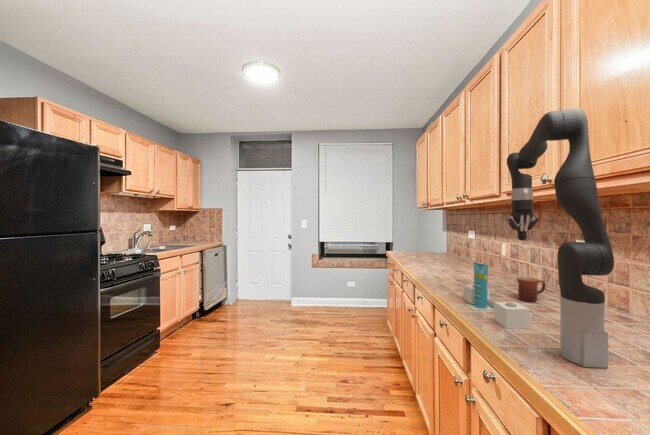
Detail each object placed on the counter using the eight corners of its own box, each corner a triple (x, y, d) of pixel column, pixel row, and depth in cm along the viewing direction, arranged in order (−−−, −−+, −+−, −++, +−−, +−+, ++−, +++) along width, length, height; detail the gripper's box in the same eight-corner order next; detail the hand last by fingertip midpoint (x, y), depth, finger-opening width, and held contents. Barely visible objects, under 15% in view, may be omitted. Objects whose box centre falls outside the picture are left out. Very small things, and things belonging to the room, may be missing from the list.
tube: (469, 305, 125) (469, 262, 125) (477, 303, 127) (476, 261, 127) (485, 310, 118) (485, 265, 118) (492, 308, 120) (492, 264, 120)
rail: (518, 320, 108) (518, 313, 108) (512, 320, 108) (512, 313, 108) (492, 304, 127) (492, 299, 127) (487, 304, 127) (487, 299, 127)
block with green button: (529, 328, 100) (529, 307, 100) (506, 328, 101) (506, 307, 101) (515, 320, 108) (515, 300, 108) (494, 319, 109) (494, 300, 109)
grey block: (489, 304, 127) (489, 289, 127) (471, 304, 127) (471, 289, 127) (480, 299, 135) (480, 284, 135) (463, 299, 135) (463, 284, 135)
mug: (523, 303, 128) (523, 280, 128) (512, 297, 137) (512, 276, 137) (551, 303, 127) (551, 281, 127) (538, 298, 136) (538, 277, 136)
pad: (494, 310, 119) (494, 309, 119) (472, 310, 120) (472, 309, 120) (486, 305, 125) (486, 304, 125) (466, 305, 126) (466, 304, 126)
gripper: (511, 198, 115) (511, 241, 115) (544, 198, 115) (544, 241, 115) (500, 200, 122) (500, 239, 122) (531, 199, 122) (531, 239, 122)
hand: (522, 240), depth 118 cm, fingers closed
